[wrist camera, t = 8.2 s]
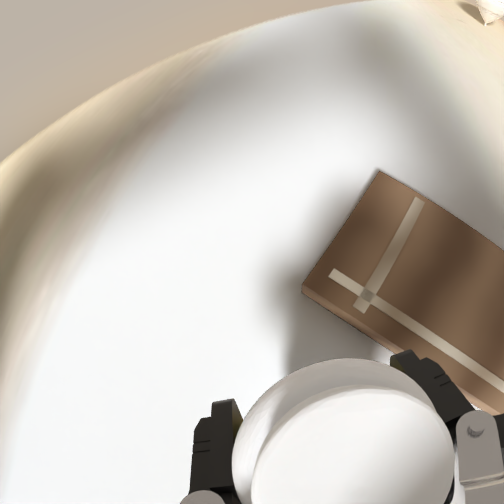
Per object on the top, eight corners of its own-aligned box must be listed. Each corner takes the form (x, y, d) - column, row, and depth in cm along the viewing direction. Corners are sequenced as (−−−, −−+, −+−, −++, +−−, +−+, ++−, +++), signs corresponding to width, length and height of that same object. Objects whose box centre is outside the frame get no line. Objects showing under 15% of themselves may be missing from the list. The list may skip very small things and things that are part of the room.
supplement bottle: (264, 373, 15) (215, 337, 6) (376, 372, 14) (490, 330, 5) (256, 479, 13) (200, 587, 3) (370, 478, 12) (465, 567, 3)
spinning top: (481, 18, 37) (492, -29, 26) (509, 38, 33) (523, -10, 22) (459, 15, 36) (469, -36, 26) (488, 36, 33) (502, -18, 22)
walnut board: (301, 292, 20) (302, 283, 18) (375, 184, 22) (379, 169, 21) (553, 455, 11) (566, 456, 10) (590, 344, 14) (602, 339, 12)
